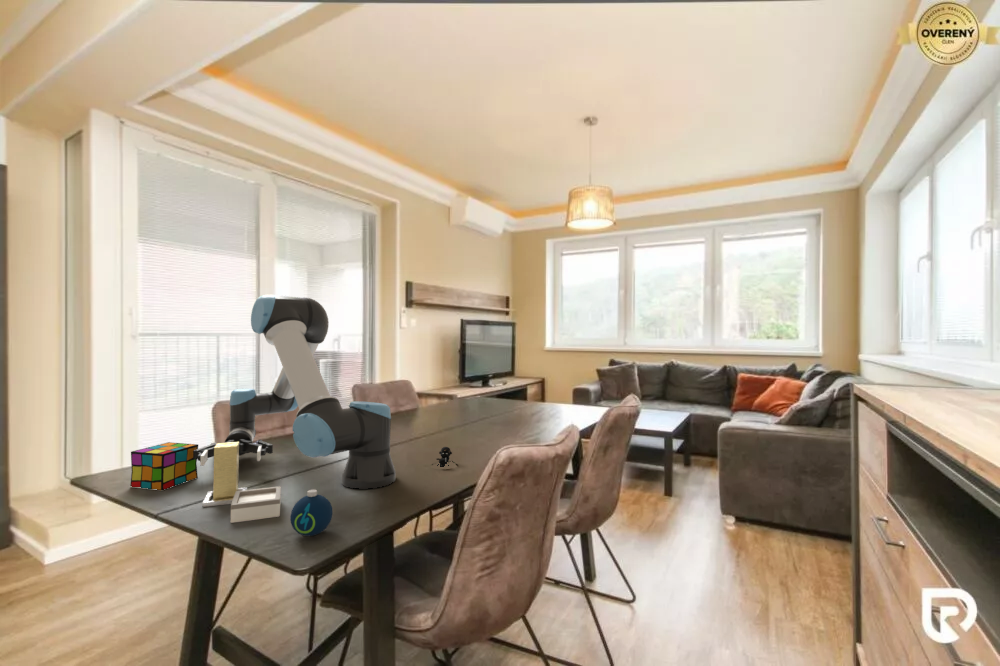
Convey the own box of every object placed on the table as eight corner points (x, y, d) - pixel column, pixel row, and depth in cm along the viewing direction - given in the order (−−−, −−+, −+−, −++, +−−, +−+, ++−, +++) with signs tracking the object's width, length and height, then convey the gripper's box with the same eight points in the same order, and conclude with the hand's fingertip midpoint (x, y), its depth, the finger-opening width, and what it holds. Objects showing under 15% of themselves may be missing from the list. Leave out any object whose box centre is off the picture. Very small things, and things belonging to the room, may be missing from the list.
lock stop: (238, 494, 121) (239, 441, 122) (235, 500, 117) (237, 446, 117) (216, 496, 119) (217, 443, 119) (213, 503, 115) (214, 447, 115)
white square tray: (280, 501, 116) (280, 486, 116) (279, 516, 107) (279, 499, 107) (235, 507, 112) (235, 491, 112) (230, 522, 103) (230, 505, 103)
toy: (162, 491, 123) (162, 454, 123) (130, 488, 125) (130, 451, 125) (197, 478, 134) (198, 444, 134) (167, 475, 136) (168, 442, 136)
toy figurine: (426, 470, 146) (427, 452, 146) (431, 461, 156) (431, 444, 156) (458, 471, 146) (458, 453, 146) (460, 462, 156) (461, 445, 156)
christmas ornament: (280, 538, 96) (281, 491, 96) (310, 523, 104) (311, 479, 104) (312, 546, 93) (313, 496, 93) (340, 529, 101) (341, 484, 101)
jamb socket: (247, 490, 124) (247, 487, 124) (244, 502, 116) (244, 498, 116) (208, 495, 120) (208, 491, 120) (202, 507, 112) (202, 503, 112)
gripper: (281, 449, 151) (280, 467, 132) (192, 457, 141) (176, 477, 122) (282, 427, 151) (280, 441, 132) (193, 432, 141) (177, 448, 122)
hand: (230, 458), depth 127 cm, fingers open, 13 cm apart
